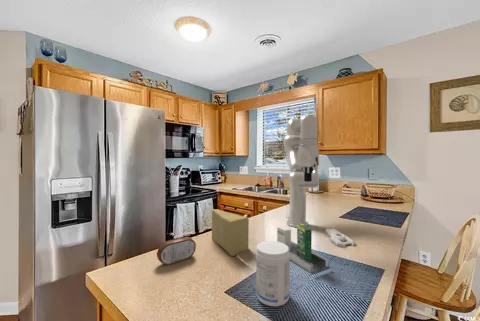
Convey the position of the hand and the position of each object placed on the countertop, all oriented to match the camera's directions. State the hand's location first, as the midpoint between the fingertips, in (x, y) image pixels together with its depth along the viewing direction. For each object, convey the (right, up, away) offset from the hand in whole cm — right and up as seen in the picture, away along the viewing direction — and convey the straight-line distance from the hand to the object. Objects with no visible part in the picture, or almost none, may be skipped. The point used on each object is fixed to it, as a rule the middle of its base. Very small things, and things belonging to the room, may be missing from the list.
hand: (307, 181), depth 104 cm
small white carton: (-14, -28, -10) cm, 33 cm away
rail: (-10, -29, -17) cm, 35 cm away
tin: (-57, -29, -19) cm, 67 cm away
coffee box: (-8, -29, -20) cm, 36 cm away
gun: (+16, -30, +3) cm, 34 cm away
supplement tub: (-23, -30, -41) cm, 56 cm away
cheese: (-39, -29, -5) cm, 49 cm away
